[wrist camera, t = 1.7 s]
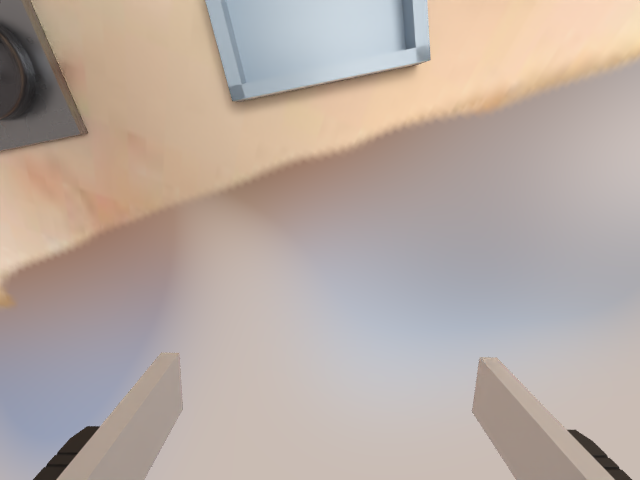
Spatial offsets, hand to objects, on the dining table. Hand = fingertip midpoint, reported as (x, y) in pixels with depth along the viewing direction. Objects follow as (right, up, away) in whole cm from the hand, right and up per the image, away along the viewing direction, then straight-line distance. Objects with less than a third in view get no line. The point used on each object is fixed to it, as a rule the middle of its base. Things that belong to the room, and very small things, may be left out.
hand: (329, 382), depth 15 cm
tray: (-1, +28, +16) cm, 33 cm away
